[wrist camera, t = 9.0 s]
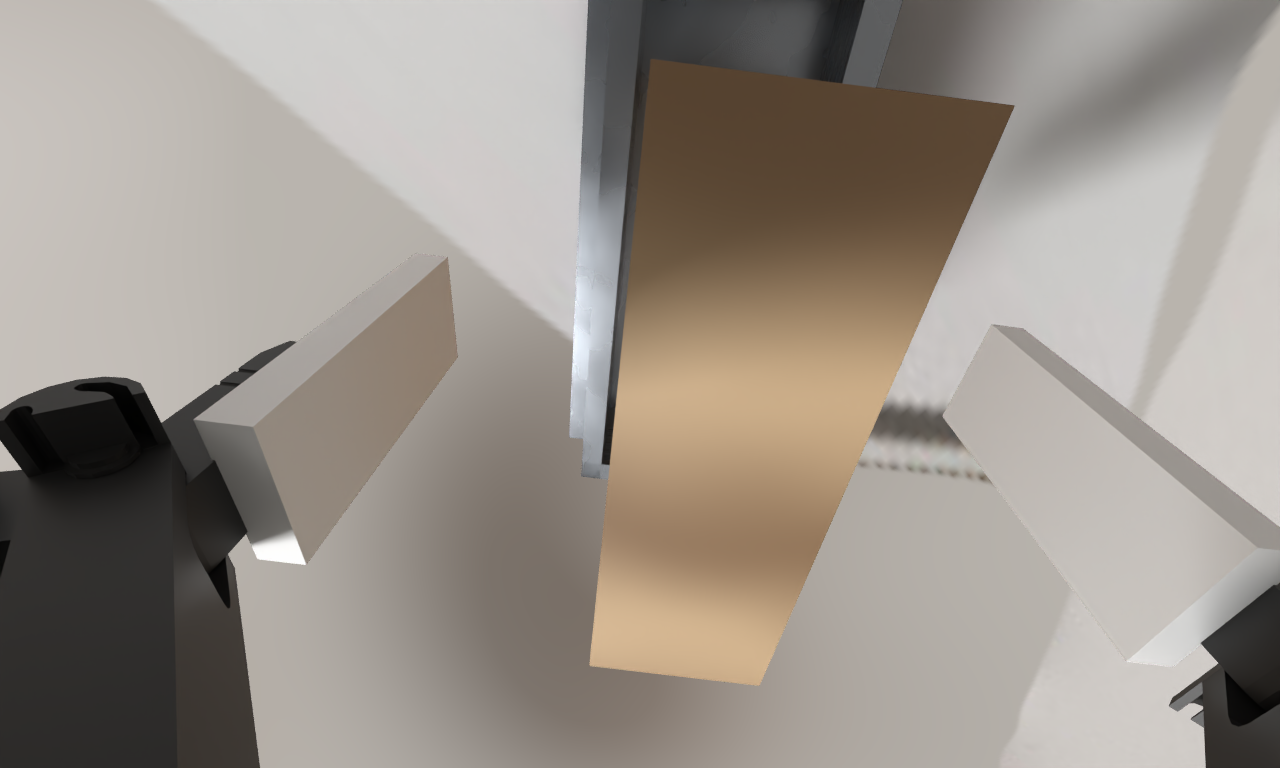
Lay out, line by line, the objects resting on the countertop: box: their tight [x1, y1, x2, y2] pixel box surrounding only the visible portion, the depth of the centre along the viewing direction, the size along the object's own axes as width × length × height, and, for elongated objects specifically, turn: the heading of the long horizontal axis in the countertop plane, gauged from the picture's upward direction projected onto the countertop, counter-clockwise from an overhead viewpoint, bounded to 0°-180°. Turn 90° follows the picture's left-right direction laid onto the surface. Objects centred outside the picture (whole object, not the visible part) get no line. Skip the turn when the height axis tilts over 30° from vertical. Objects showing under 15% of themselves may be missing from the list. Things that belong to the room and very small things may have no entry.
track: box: [569, 0, 903, 480], centre depth 18 cm, size 18×9×3 cm, turn 174°
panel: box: [590, 59, 1014, 686], centre depth 14 cm, size 12×4×12 cm, turn 174°
